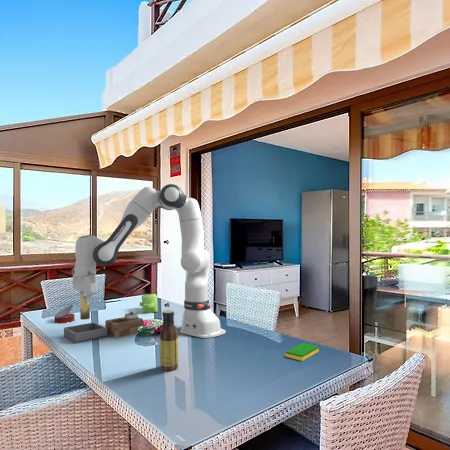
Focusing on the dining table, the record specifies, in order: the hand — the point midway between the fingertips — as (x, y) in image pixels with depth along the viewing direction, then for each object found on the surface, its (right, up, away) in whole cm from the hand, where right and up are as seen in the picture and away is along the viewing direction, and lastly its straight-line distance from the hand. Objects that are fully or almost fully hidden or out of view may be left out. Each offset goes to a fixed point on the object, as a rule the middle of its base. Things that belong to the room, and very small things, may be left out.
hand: (85, 301), depth 163 cm
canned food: (-22, -17, +28) cm, 39 cm away
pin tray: (0, -16, 0) cm, 16 cm away
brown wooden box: (+16, -16, +6) cm, 23 cm away
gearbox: (+18, -17, +52) cm, 57 cm away
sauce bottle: (+44, -15, -38) cm, 60 cm away
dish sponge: (+93, -16, -23) cm, 97 cm away
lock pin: (0, -8, 0) cm, 8 cm away
